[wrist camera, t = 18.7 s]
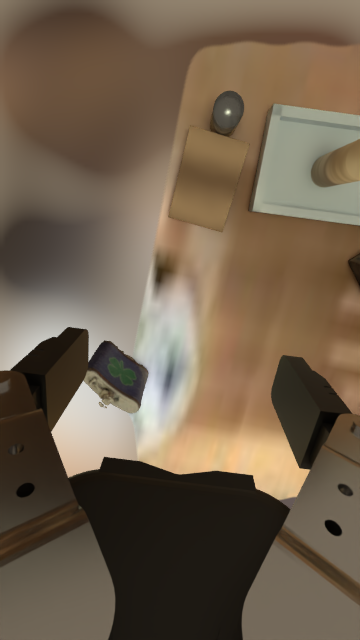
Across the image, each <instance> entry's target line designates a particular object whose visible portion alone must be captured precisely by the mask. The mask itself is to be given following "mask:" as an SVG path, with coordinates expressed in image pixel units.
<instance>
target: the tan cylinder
mask: <svg viewBox="0 0 360 640" xmlns="http://www.w3.org/2000/svg"><path fill="white" fill-rule="evenodd" d="M311 178H312V181H313V182H314V183H315V184H316V185H317V186H319V187H330V186H335V185H341V184H346V183H351V182H357V181H360V139H358V140H356V141H354V142H352V143H349V144H347V145H345V146H343V147H341V148H338V149H336V150H334V151H332V152H329V153H327V154H325V155H323V156H321V157H319V158H318V159H317V160H316V161H315V162H314V164H313V166H312V169H311Z"/></svg>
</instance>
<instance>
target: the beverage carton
mask: <svg viewBox="0 0 360 640" xmlns="http://www.w3.org/2000/svg"><path fill="white" fill-rule="evenodd" d="M349 264H350V266H351V269H352V271H353V272H354V274H355V276H356V278H357V281H358V283H359V285H360V254H359V255H357V256H356V257H355V258H353V259H351V260H349Z"/></svg>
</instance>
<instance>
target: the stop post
mask: <svg viewBox="0 0 360 640" xmlns="http://www.w3.org/2000/svg"><path fill="white" fill-rule="evenodd" d="M243 112H244V103H243V100H242V98H241V96H240V95H239V94H238V93H236V92H234V91H226V92H223V93H222V94H220V95H219V96H218V98H217V99H216V101H215V104H214V108H213V113H212V117H211V122H210V130H211V132H213V133H217V134H220V135H223V136H227V137H230V136H231V135H232V134H233V132H234V130H235V128H236V127H237V125H238V123H239V121H240V119H241V117H242V115H243Z"/></svg>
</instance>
